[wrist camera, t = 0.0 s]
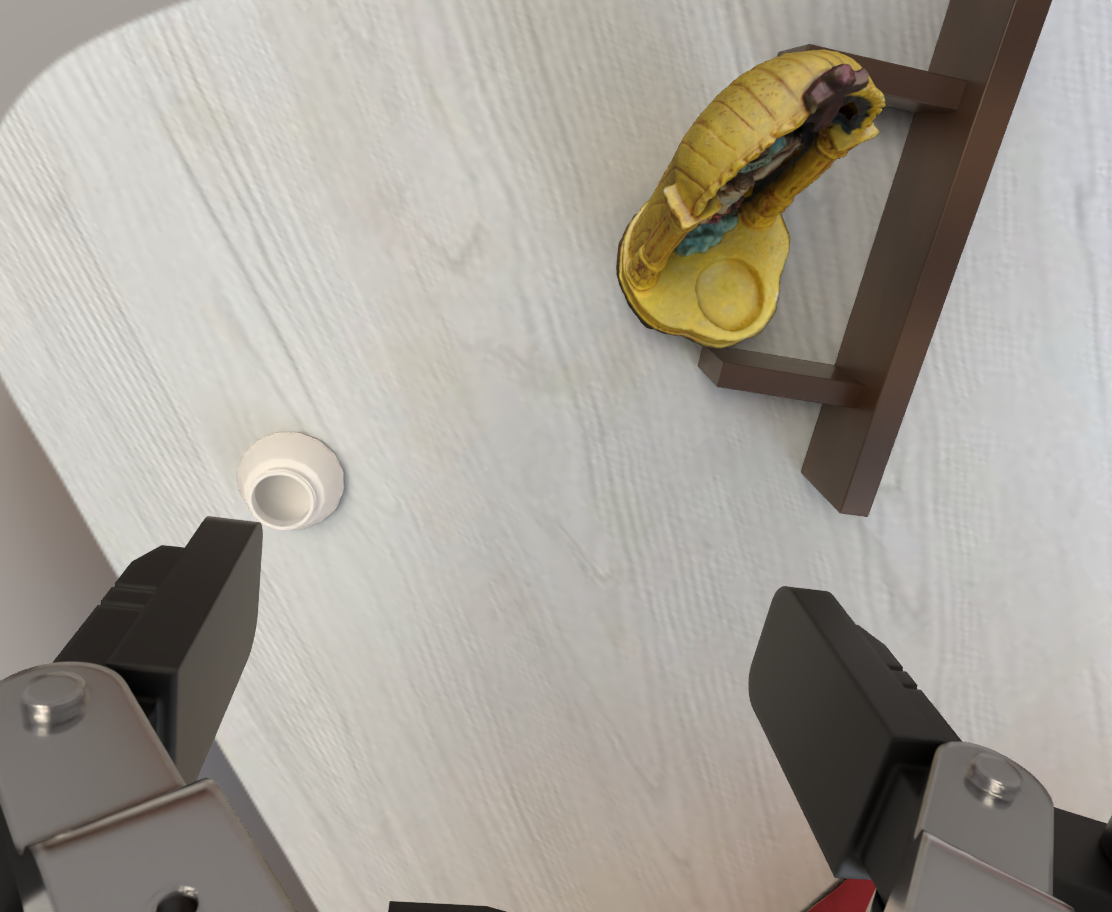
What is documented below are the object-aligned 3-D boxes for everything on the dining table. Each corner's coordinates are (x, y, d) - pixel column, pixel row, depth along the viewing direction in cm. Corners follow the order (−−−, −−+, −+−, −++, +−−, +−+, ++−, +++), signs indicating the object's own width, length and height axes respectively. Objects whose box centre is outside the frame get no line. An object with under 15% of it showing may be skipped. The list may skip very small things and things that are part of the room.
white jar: (361, 501, 42) (317, 415, 40) (353, 527, 39) (306, 436, 37) (270, 534, 42) (223, 450, 40) (256, 562, 39) (205, 473, 37)
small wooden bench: (810, -75, 34) (863, -107, 29) (992, -28, 35) (1071, -52, 31) (675, 454, 42) (699, 494, 38) (826, 476, 44) (868, 517, 39)
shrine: (603, 81, 35) (687, 49, 21) (785, 70, 36) (983, 31, 22) (611, 339, 40) (686, 451, 26) (774, 326, 40) (933, 429, 26)
